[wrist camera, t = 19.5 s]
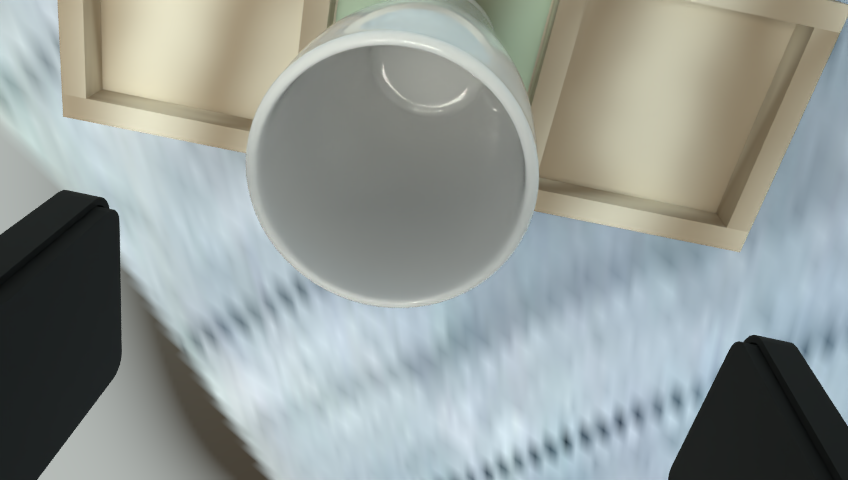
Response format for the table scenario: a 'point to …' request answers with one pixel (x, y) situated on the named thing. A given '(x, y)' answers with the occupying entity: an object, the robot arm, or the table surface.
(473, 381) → the table surface
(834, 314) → the table surface
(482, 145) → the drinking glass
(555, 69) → the wooden compartment tray
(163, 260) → the table surface
